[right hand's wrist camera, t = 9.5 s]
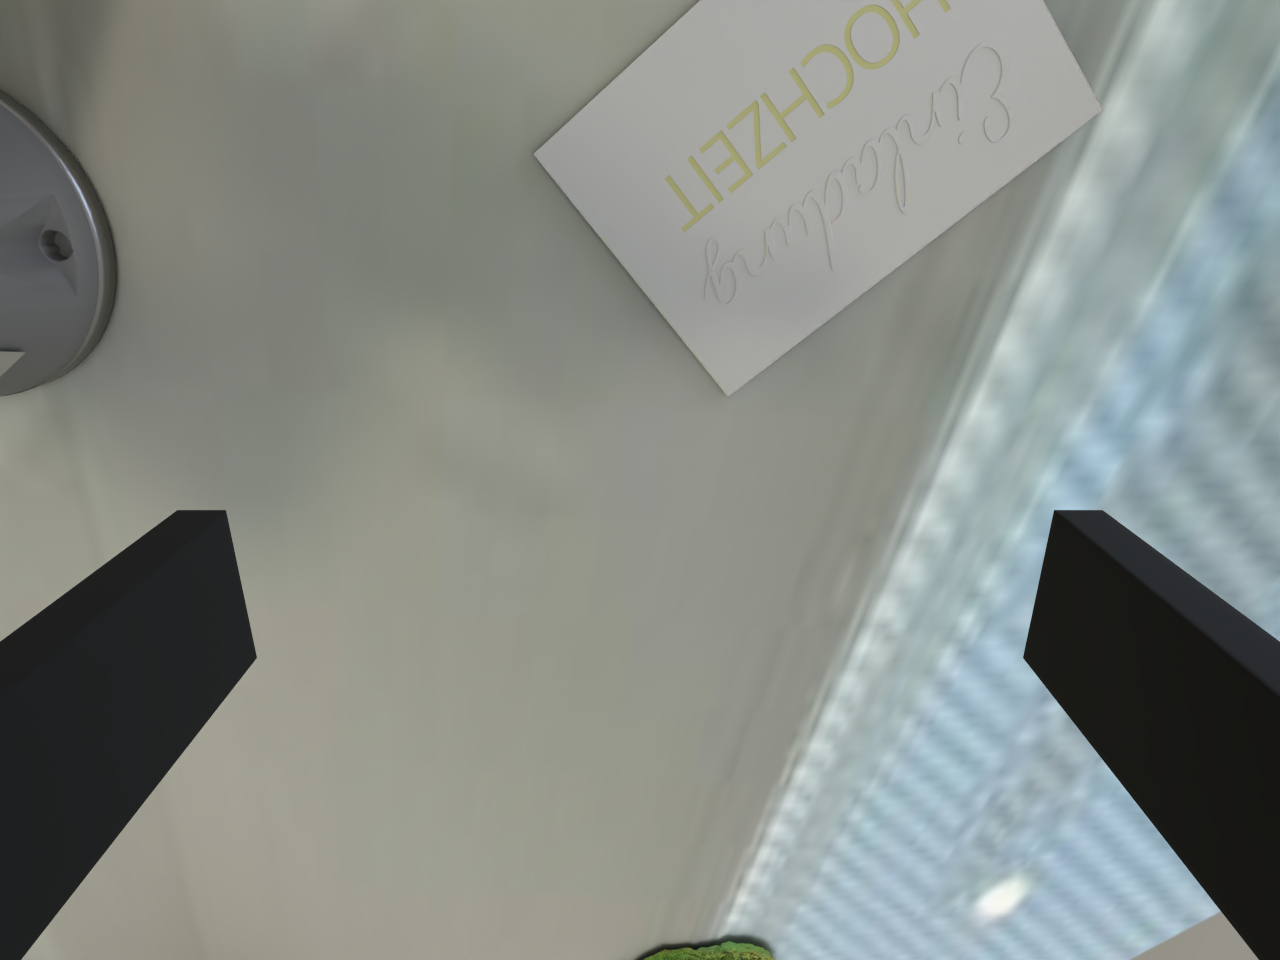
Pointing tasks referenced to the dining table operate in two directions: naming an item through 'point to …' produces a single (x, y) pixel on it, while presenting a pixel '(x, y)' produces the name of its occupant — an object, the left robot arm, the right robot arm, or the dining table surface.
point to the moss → (716, 953)
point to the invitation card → (808, 154)
